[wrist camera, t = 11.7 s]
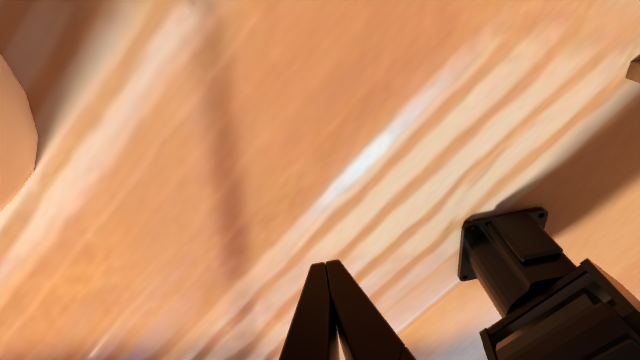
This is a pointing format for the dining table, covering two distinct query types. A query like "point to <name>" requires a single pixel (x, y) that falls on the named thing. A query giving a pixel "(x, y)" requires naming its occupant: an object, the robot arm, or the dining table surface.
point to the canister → (15, 136)
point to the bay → (634, 71)
